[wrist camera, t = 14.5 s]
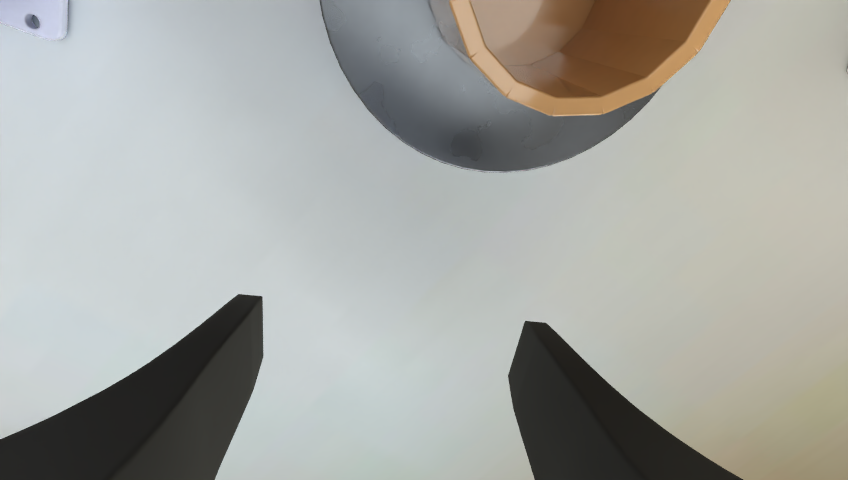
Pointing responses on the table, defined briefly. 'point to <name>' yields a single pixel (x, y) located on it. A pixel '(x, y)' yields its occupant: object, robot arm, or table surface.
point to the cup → (576, 47)
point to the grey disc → (449, 93)
